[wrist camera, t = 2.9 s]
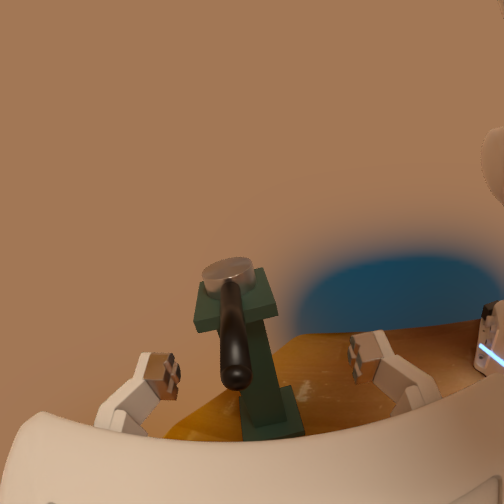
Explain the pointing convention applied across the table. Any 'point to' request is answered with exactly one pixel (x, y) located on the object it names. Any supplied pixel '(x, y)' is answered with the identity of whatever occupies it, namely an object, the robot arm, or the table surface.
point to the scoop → (232, 317)
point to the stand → (256, 366)
